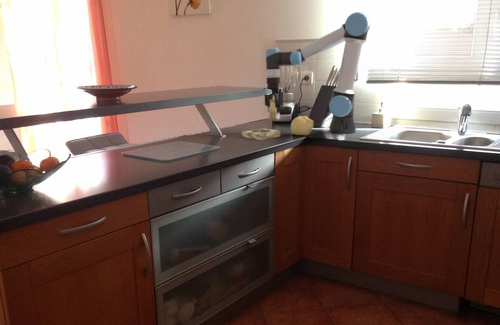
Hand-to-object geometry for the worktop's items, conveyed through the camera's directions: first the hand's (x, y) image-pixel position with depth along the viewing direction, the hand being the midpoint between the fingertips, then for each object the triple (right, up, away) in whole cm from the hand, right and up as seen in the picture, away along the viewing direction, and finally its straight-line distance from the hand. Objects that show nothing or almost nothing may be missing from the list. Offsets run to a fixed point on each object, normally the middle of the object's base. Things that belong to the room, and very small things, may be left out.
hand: (274, 118), depth 254 cm
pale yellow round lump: (+15, -10, -6) cm, 19 cm away
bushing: (0, -1, 0) cm, 1 cm away
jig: (-8, -11, -10) cm, 17 cm away
